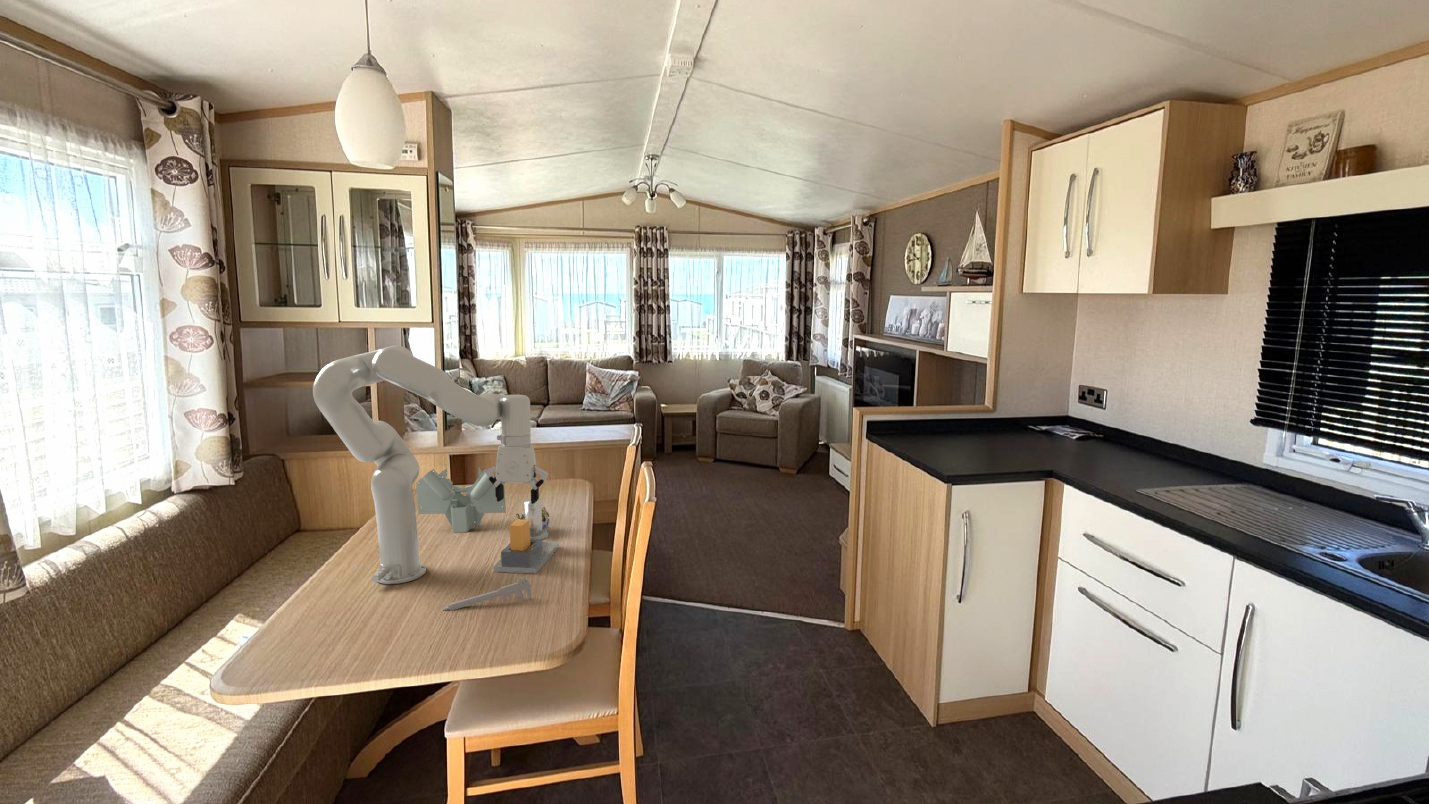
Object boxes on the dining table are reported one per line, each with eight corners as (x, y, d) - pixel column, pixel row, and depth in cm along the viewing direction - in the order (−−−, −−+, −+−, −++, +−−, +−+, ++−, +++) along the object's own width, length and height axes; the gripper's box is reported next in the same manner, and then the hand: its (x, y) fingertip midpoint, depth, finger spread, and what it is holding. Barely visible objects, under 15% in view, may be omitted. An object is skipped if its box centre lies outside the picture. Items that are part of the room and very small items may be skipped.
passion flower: (544, 551, 211) (547, 529, 203) (509, 546, 210) (510, 524, 202) (551, 521, 220) (553, 499, 212) (517, 517, 218) (518, 494, 210)
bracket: (509, 523, 220) (506, 464, 217) (503, 531, 213) (500, 470, 210) (424, 525, 219) (419, 465, 215) (415, 533, 212) (411, 471, 208)
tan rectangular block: (523, 564, 184) (521, 526, 182) (511, 563, 184) (509, 525, 183) (530, 557, 189) (529, 519, 187) (519, 556, 189) (517, 519, 187)
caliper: (531, 599, 167) (530, 575, 166) (531, 601, 166) (530, 577, 165) (443, 609, 161) (441, 585, 160) (443, 612, 160) (441, 587, 159)
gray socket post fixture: (536, 573, 181) (533, 518, 179) (493, 571, 183) (490, 517, 180) (559, 547, 200) (557, 497, 198) (520, 545, 201) (518, 496, 199)
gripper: (479, 441, 179) (481, 503, 181) (542, 445, 177) (542, 507, 180) (491, 436, 186) (492, 495, 189) (551, 439, 184) (552, 499, 187)
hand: (517, 501), depth 184 cm, fingers open, 9 cm apart
